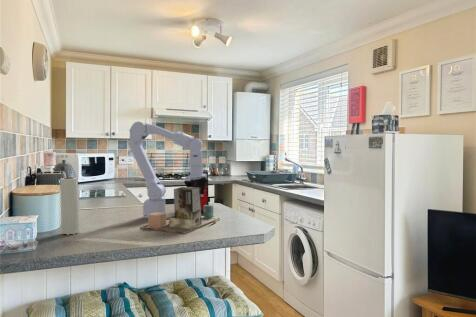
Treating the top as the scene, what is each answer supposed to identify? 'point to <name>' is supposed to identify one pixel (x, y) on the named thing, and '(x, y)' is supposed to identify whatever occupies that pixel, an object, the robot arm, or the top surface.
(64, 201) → the tall grey block
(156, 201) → the robot arm
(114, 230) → the top surface
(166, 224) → the lane frame
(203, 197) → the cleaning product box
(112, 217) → the top surface
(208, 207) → the frame
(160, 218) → the terracotta cube
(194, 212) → the coffee box
